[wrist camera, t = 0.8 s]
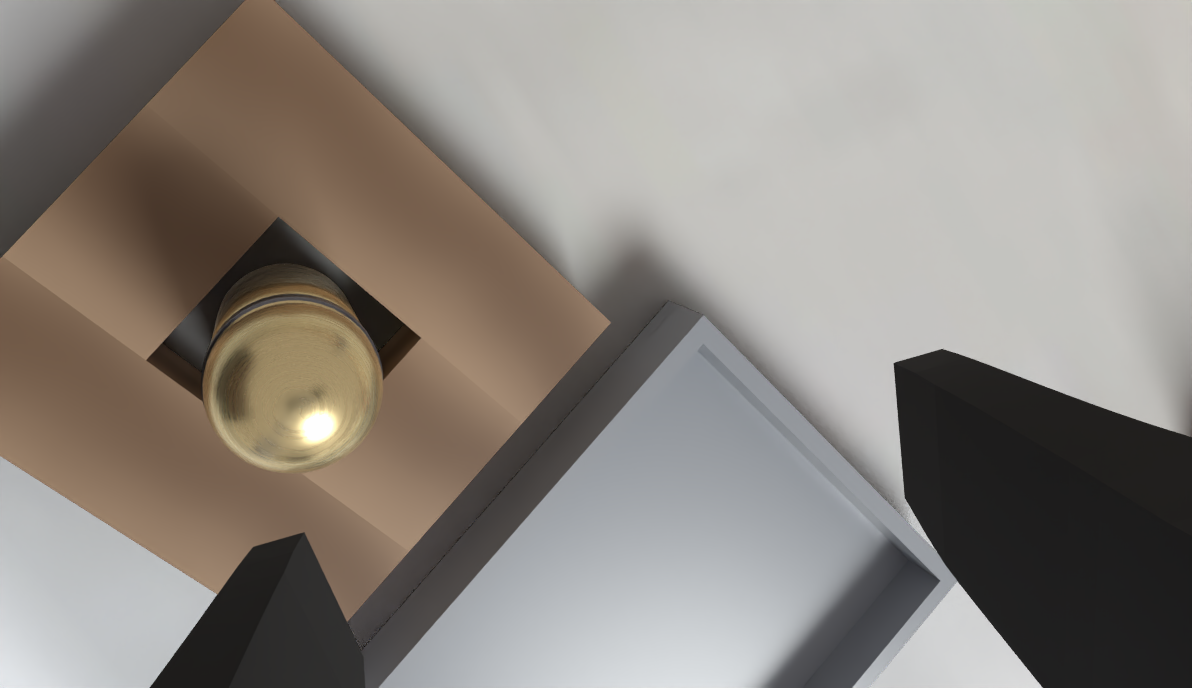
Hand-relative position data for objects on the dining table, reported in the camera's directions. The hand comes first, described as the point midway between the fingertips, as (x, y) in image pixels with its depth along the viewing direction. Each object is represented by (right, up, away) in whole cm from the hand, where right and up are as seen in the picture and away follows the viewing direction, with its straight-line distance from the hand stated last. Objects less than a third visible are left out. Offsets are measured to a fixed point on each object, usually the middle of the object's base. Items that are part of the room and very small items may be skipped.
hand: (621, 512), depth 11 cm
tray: (+1, -8, +20) cm, 22 cm away
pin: (-9, +2, +14) cm, 17 cm away
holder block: (-9, +2, +14) cm, 17 cm away
